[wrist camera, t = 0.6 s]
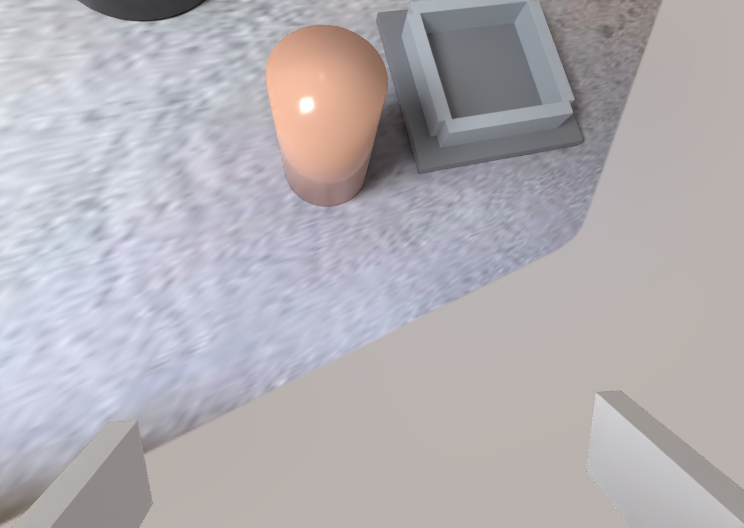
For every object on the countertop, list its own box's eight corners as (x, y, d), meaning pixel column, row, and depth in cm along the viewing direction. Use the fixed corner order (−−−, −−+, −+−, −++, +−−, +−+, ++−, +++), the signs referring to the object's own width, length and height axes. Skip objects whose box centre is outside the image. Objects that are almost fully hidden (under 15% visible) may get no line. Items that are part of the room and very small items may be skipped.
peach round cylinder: (277, 138, 35) (255, 31, 23) (355, 126, 36) (372, 19, 24) (293, 213, 33) (278, 141, 22) (374, 198, 35) (400, 122, 23)
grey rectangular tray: (376, 21, 38) (381, -11, 35) (526, 4, 41) (544, -27, 38) (418, 173, 36) (429, 155, 32) (576, 145, 38) (601, 125, 35)
